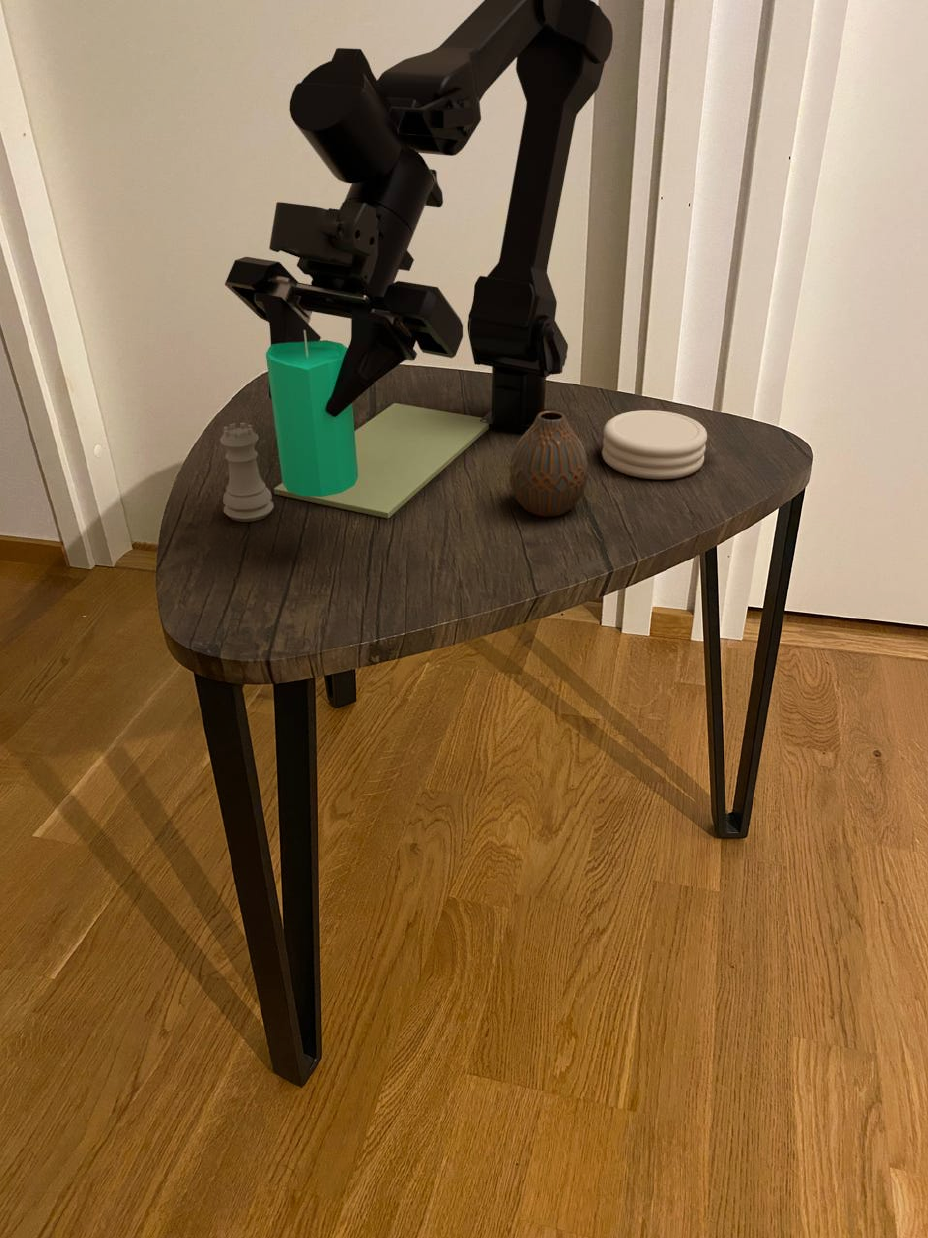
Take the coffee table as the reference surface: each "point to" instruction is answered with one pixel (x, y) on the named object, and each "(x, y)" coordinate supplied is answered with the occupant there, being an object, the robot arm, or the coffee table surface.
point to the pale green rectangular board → (400, 457)
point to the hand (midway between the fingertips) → (301, 407)
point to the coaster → (654, 444)
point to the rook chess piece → (244, 476)
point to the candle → (311, 418)
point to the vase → (548, 466)
